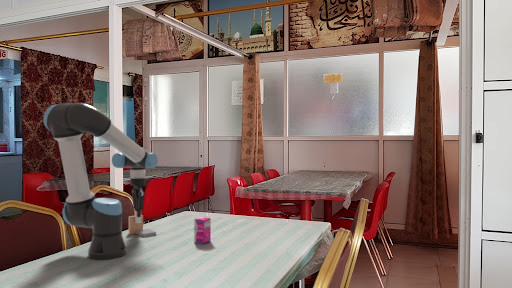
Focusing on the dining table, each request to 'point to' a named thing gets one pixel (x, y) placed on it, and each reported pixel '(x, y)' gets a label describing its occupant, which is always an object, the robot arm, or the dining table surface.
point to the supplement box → (202, 230)
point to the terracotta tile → (135, 225)
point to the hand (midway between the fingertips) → (138, 222)
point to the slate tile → (146, 233)
